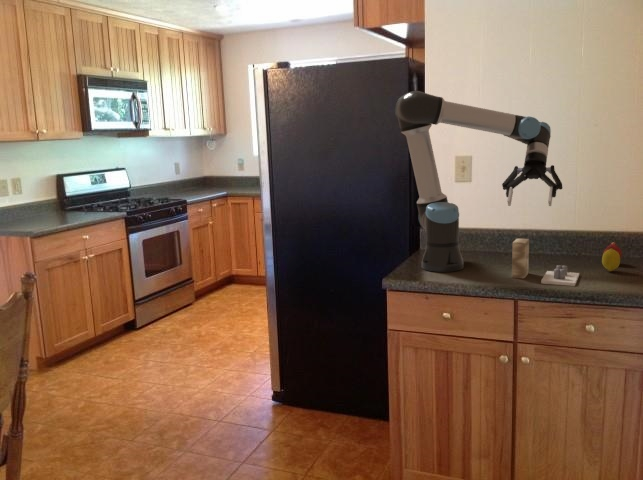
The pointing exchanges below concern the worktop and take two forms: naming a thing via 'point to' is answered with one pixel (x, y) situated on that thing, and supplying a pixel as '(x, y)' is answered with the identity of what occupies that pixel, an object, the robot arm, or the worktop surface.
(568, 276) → the peg rest
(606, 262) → the lemon
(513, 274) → the tan wooden block
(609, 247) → the onion
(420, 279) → the worktop surface
